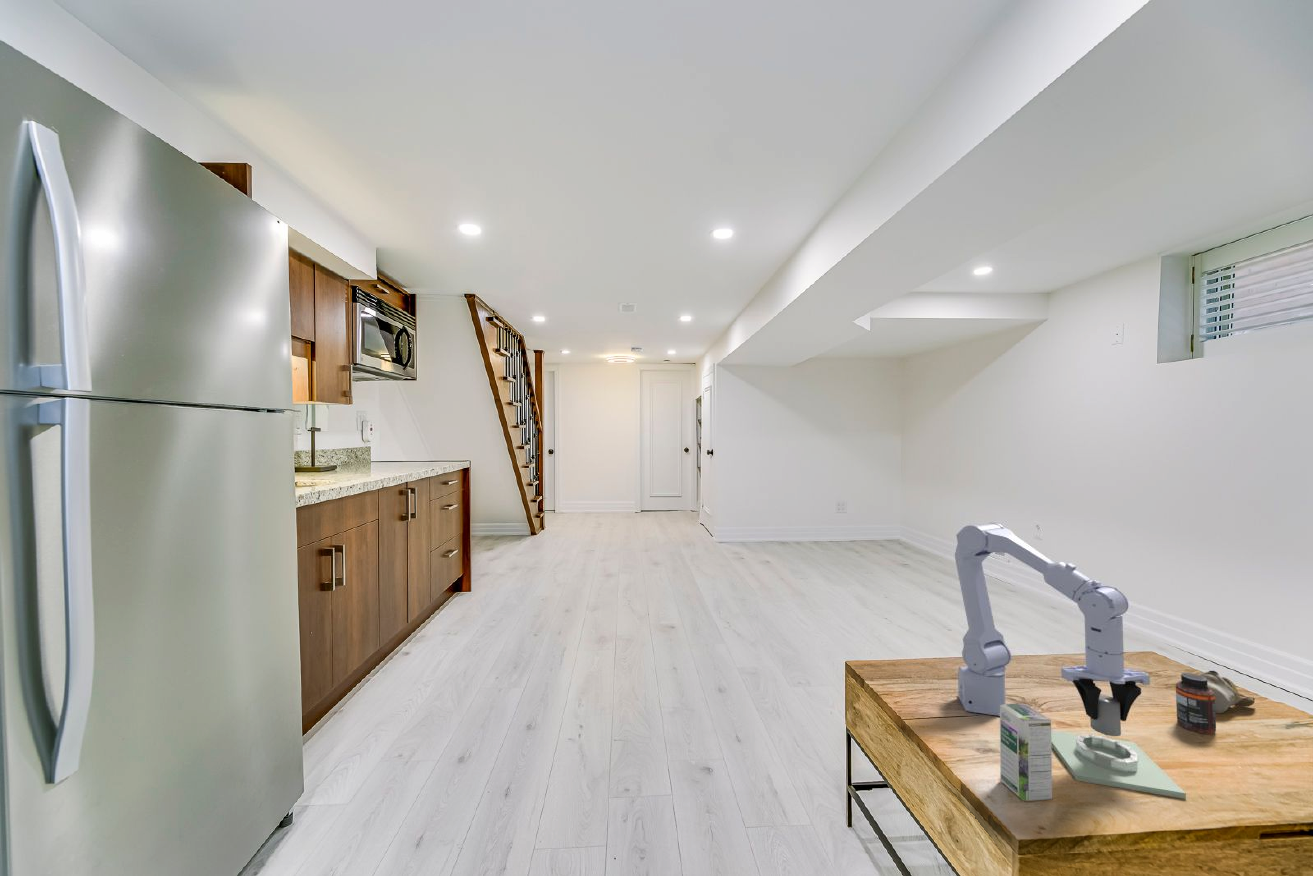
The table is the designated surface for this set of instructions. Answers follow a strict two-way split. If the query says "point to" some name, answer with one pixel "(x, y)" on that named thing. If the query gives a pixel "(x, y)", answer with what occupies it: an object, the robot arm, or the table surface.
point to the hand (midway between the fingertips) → (1105, 717)
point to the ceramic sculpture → (1225, 692)
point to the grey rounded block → (1107, 716)
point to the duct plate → (1142, 780)
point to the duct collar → (1104, 761)
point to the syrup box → (1025, 752)
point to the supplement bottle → (1195, 704)
